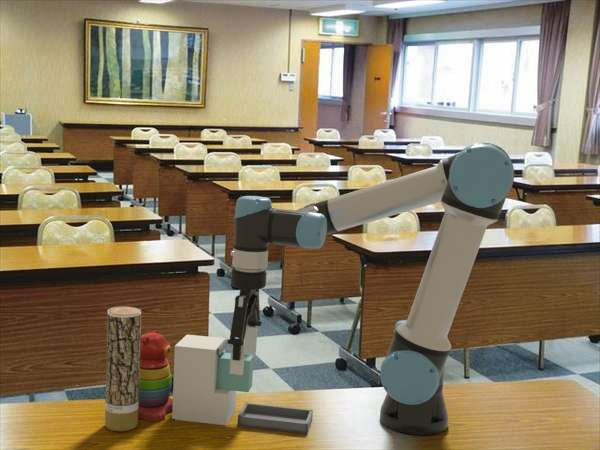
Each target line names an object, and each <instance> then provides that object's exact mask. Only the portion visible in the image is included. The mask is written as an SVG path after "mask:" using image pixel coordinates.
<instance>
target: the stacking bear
mask: <svg viewBox="0 0 600 450" xmlns="http://www.w3.org/2000/svg"><path fill="white" fill-rule="evenodd" d="M170 352H171V345H170V343H169V341H167V339H166V338H165V337H164V335H162V334H161V333H158V330H156V329H155V330H152V331H151V332H146V333H144V334H141V338H140V372H139V406H138V419H141V420H144V419H145V421H149V422H161V421H163V420H164V419H166V414H168V413H170V412H172V410H173V397H172V398H171V397H170V394H171V390H172V384H173V380H172V379H173V377H172V373H171V367H170V364H169V360H168V358H166V357H168V355H169V354H170Z"/></svg>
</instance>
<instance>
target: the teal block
mask: <svg viewBox="0 0 600 450" xmlns="http://www.w3.org/2000/svg"><path fill="white" fill-rule="evenodd" d="M230 359H231V352H225V353H224V352H222V353H221V354H220V356H218V360H217V383H216V389H223V390H232V391H236V392H243V393H249V392H250V390H251V388H252V387H253V375H254V373H253V372H254V355H245V354H244V366H243V375H237V374H230Z"/></svg>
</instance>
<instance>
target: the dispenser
mask: <svg viewBox="0 0 600 450" xmlns="http://www.w3.org/2000/svg"><path fill="white" fill-rule="evenodd" d="M227 347H228V339H227V338H224V337H218V336H208V335H207V336H205V335H197V334H186V335H185V336H183V338H182V339H180V340H179V341H178V342H177V343H176V344H175V345H174V360H173V361H174V363H173V381H172V384H173V387H172V399H173V410H172V411H171V412H172V414H171V415H172V416H171V418H172V419H171V420H173V419H175V421H183V422H184V421H185V422H192V423H199V424H200V423H201V424H207V425H209V424H210V425H220V426H227V425H228V423H229V422H230V419H231V418H232V417H233V415H234V413H235V412H236V405H237V391H232V390H223V389H216V383H217V360H218V356H220V354H221V353H222V352H224V353H226V348H227Z"/></svg>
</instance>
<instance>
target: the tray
mask: <svg viewBox="0 0 600 450" xmlns="http://www.w3.org/2000/svg"><path fill="white" fill-rule="evenodd" d="M240 410H241V411H240V412H239V414H238V415H237V427H243V428H251V429H261V430H270V431H276V432H277V431H279V432H287V433H297V434H304V435H308V433H309V430H310V427H311V425H312V421H313V413H314V410H313V409H310V408H309V409H308V408H300V407H299V408H298V407H297V408H296V407H291V406H290V407H288V406H278V405H273V404H263V403H262V404H260V403H252V402H245V404H244V406H243V407H242V408H241V409H240Z"/></svg>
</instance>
